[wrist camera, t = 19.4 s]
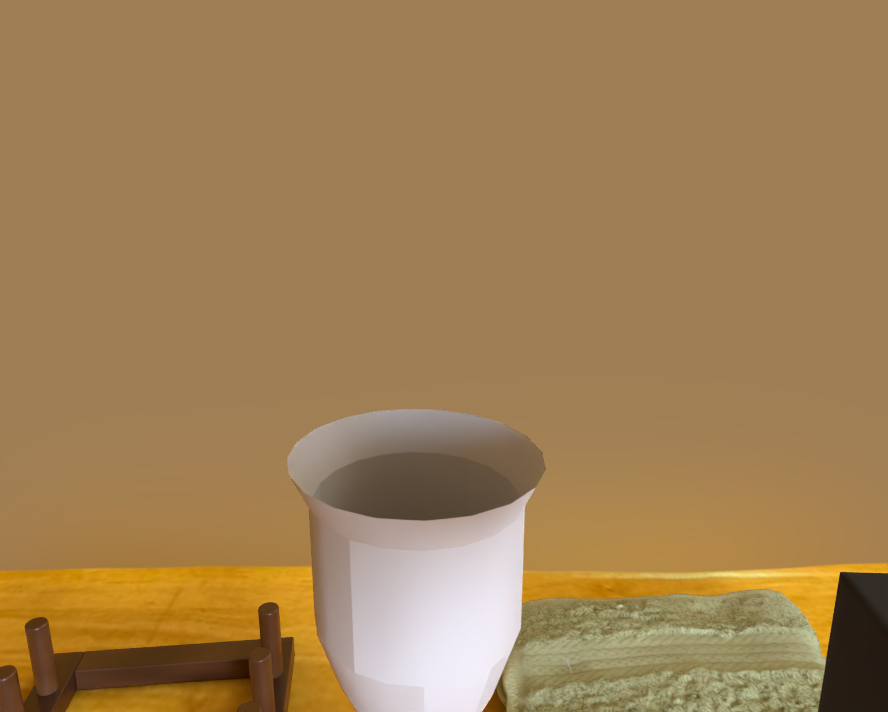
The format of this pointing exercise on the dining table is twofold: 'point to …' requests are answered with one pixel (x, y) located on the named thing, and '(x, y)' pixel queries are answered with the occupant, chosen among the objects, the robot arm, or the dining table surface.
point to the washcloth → (664, 655)
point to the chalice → (417, 553)
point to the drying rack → (154, 668)
